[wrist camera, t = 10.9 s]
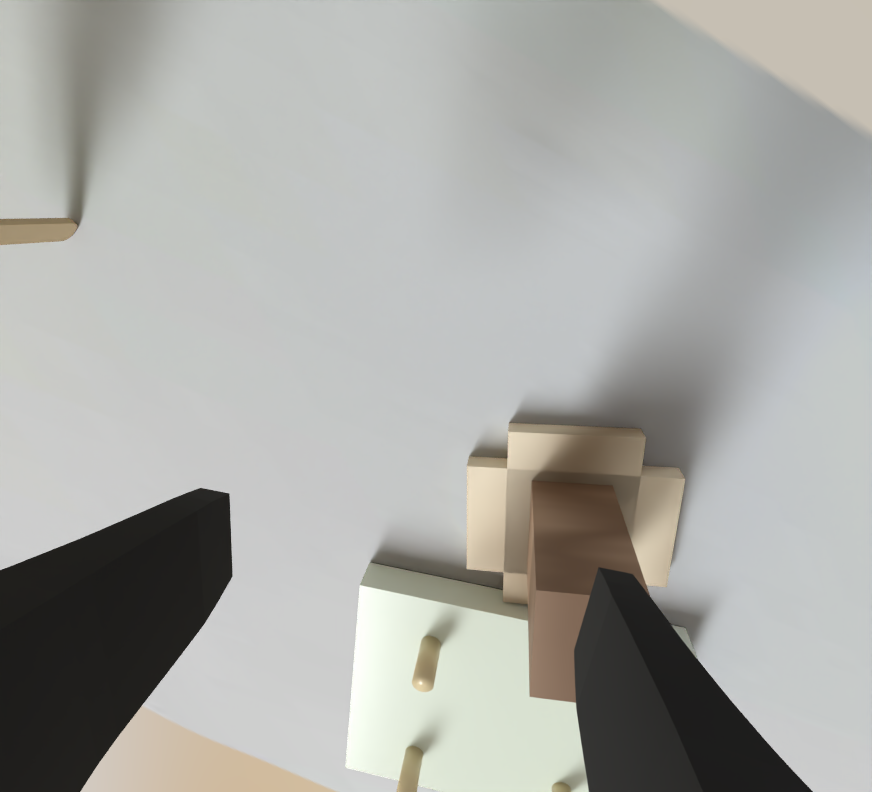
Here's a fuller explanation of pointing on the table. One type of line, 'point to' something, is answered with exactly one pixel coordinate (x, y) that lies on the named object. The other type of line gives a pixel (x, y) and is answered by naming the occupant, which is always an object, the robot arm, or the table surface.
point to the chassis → (454, 691)
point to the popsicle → (35, 230)
